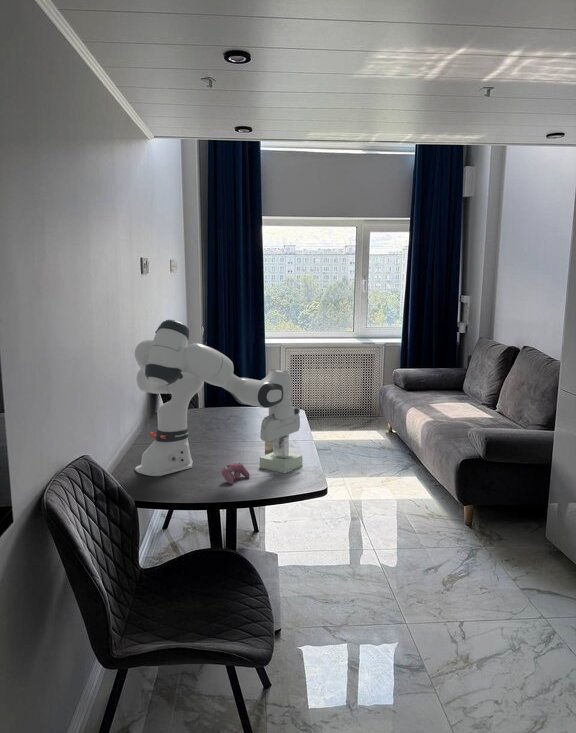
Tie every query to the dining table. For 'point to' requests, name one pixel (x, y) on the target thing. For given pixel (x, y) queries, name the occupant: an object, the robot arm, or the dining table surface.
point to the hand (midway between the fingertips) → (280, 447)
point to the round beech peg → (268, 447)
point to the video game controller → (237, 470)
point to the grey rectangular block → (282, 448)
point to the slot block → (281, 462)
